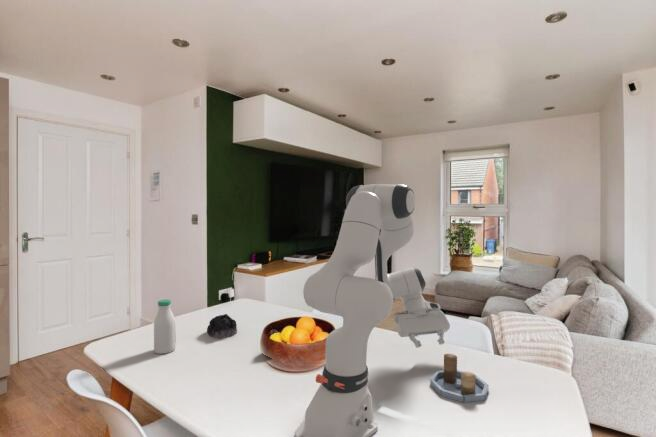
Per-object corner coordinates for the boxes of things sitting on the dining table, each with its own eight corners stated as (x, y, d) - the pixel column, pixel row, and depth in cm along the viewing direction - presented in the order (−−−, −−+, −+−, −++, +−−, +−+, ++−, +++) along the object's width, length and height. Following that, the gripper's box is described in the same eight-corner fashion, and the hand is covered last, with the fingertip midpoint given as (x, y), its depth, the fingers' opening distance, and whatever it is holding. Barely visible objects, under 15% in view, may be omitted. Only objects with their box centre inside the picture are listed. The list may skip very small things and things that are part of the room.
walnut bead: (454, 385, 109) (455, 360, 108) (442, 381, 111) (442, 357, 111) (458, 379, 112) (458, 355, 112) (445, 376, 114) (445, 352, 114)
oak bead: (473, 399, 101) (474, 379, 100) (459, 395, 103) (459, 375, 103) (476, 393, 104) (476, 373, 104) (462, 389, 106) (463, 370, 106)
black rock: (213, 329, 163) (211, 309, 162) (242, 327, 162) (239, 306, 161) (203, 342, 149) (200, 320, 148) (234, 340, 149) (231, 318, 148)
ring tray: (481, 412, 96) (481, 402, 96) (425, 394, 105) (425, 385, 105) (491, 387, 110) (491, 378, 109) (440, 373, 119) (440, 365, 118)
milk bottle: (175, 352, 135) (174, 302, 134) (153, 355, 132) (152, 304, 131) (176, 345, 142) (175, 297, 141) (155, 348, 139) (154, 299, 138)
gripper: (394, 308, 127) (407, 344, 118) (443, 304, 132) (458, 338, 123) (389, 316, 131) (401, 352, 122) (436, 312, 137) (451, 345, 128)
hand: (430, 345), depth 123 cm, fingers open, 8 cm apart
